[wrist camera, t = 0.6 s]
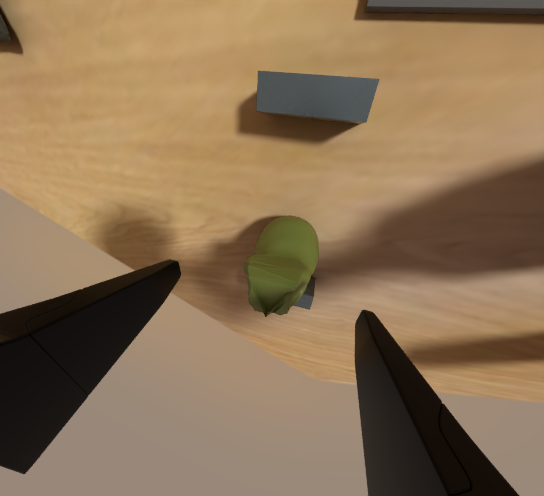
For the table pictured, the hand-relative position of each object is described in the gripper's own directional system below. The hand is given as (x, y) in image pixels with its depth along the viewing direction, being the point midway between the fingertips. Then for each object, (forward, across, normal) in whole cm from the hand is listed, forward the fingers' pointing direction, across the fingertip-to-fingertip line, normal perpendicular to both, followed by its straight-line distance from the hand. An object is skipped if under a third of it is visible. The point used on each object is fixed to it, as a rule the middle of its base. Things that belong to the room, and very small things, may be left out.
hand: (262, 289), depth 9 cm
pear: (+12, 0, +3) cm, 12 cm away
